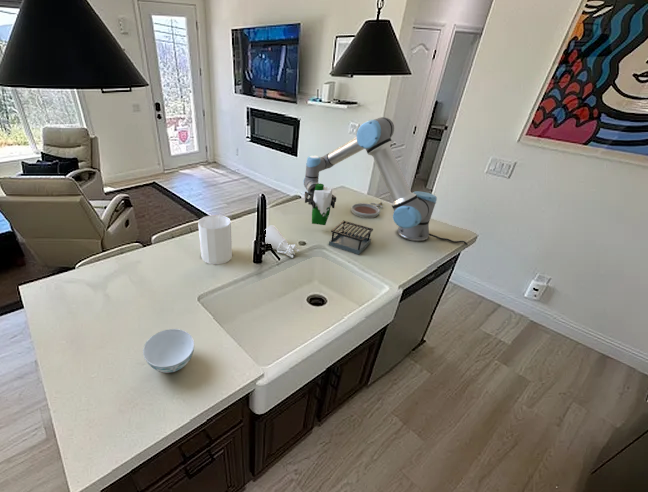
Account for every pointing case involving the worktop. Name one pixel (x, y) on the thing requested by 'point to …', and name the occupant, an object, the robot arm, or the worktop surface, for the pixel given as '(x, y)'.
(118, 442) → the worktop surface
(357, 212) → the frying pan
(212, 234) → the container
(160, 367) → the chinaware
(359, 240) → the dish rack
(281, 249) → the rocket engine
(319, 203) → the soya milk
